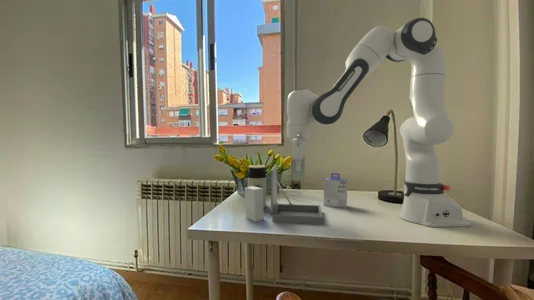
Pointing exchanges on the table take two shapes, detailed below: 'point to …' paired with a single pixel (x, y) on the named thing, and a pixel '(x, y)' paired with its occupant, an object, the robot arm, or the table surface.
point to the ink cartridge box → (335, 191)
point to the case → (292, 207)
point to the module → (298, 174)
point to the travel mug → (258, 179)
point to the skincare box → (254, 203)
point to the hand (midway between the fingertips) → (298, 169)
